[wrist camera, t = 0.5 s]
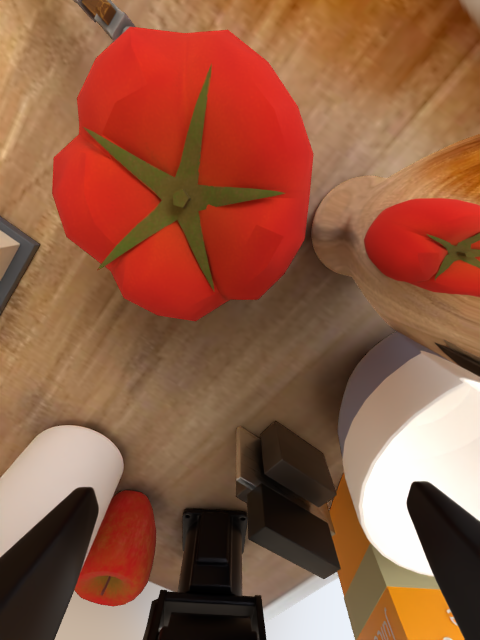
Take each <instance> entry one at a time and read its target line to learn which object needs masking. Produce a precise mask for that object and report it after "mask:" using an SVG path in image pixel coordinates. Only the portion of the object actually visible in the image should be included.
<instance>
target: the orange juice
mask: <svg viewBox="0 0 480 640" xmlns="http://www.w3.org/2000/svg"><path fill="white" fill-rule="evenodd" d="M336 493H337V495H336V496H335V497H334V500H333V503H332V505H331V508H330V511H329V513H330V516H331V520H332V523H333V526H334V530H335V533H336V534H335V535H333V536H332V539H333V542H334V546H335V550H336V553H337V557H338V560H339V564H340V567H341V569H340V570H338V571H337V572H338V576H339V579H340V583H341V587H342V590H343V594H344V600H345V604H346V607H347V611H348V615H349V619H350V622H351V626H352V630H353V633H354V637H355V640H465V639H464V637H463V635H462V633H461V631H460V629H459V627H458V625H457V623H456V621H455V619H454V617H453V615H452V613H451V611H450V608H449V606H448V604H447V602H446V600H445V598H444V596H443V594H442V592H441V590H440V588H439V586H438V584H437V582H436V580H435V577H433V576H428V575H424V574H419V573H416V572H414V571H411V570H408V569H406V568H403V567H401V566H398V565H397V564H395V563H394V562H392V561H391V560H389V559H388V558H386V557H384V556H383V555H382V554H381V553H380V552H379V551H378V550H377V549H376V548H375V547H374V546H373V545H372V544H371V542H370V541H369V540H368V539H367V537H366V535H365V533H364V531H363V529H362V527H361V525H360V523H359V520H358V517H357V514H356V511H355V508H354V505H353V501H352V498H351V495H350V492H349V489H348V486H347V483H346V479H345V474H343V475H342V478H341V481H340V483H339V486H338V489H337V492H336Z"/></svg>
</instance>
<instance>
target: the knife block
mask: <svg viewBox="0 0 480 640" xmlns="http://www.w3.org/2000/svg"><path fill="white" fill-rule="evenodd" d="M261 445H262V456H263V466H264V474H265V475H267V476H268V477H270V478H272V479H273V480H275V481H276V482H278V483H280V484H281V485H283V486H285V487H286V488H288V489H289V490H291V491H293V492H294V493H296V494H298V495H299V496H301V497H302V498H304V499H306V500H307V501H309V502H310V503H312V504H314V505H315V506H317V507H321V506H322V505H324V504H325V503H326V502H328V501H329V500H331V499H332V498H334V497H335V496H336V495H337V493H336V490H335V488H334V485H333V482H332V479H331V476H330V473H329V470H328V467H327V464H326V461H325V458H324V455H323V453H321V452H320V451H318V450H317V449H315V448H314V447H312V446H311V445H310V444H308V443H307V442H305V441H304V440H302V439H301V438H299V437H298V436H297V435H295V434H294V433H292V432H291V431H289V430H288V429H286V428H285V427H284V426H282V425H281V424H279V423H278V422H276V421H275V422H274V423H273V424H272V425H270V426H269V427H268V428H267V429H266V430H265V431H264V432H262V433H261ZM251 491H252V490H251V489H249V488H248V487H246V486H244V485H243V484H241V483H239V482H238V481H236V497H237V498H239V499H240V500H242V501H244V502H246V503H247V494H248V493H249V492H251Z"/></svg>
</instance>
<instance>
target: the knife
mask: <svg viewBox="0 0 480 640" xmlns="http://www.w3.org/2000/svg"><path fill="white" fill-rule="evenodd" d="M236 481H238V482H239V483H241V484H243V485H244V486H246V487H248V488H249V489H251V490H252V491H251V492H249V493H248V494H247V512H248V539H249V540H251V541H253V542H255V543H257V544H258V545H260V546H262V547H264V548H266V549H268V550H270V551H272V552H274V553H275V554H277V555H279V556H281V557H283V558H285V559H287V560H289V561H291V562H293V563H294V564H296V565H298V566H300V567H302V568H304V569H306V570H308V571H310V572H311V573H313V574H315V575H317V576H319V577H321V578H323V579H325V578H327V577H329V576H330V575H332V574H333V573H335V572H337V571H338V570H340V569H341V567H340V564H339V560H338V557H337V553H336V550H335V546H334V542H333V539H332V536H333V535H335V534H336V533H335V530H334V526H333V523H332V520H331V516H330V513H329V509H328V506H327V503H325V504H324V505H322V506H321V507H317V506H315V505H314V504H312V503H310V502H309V501H307V500H306V499H304V498H302V497H301V496H299V495H298V494H296V493H294V492H293V491H291V490H289V489H288V488H286V487H285V486H283V485H281V484H280V483H278V482H276V481H275V480H273V479H272V478H270V477H268V476H267V475H265V474H264V466H263V456H262V445H261V439H259V438H258V437H256V436H255V435H253V434H251V433H250V432H248V431H247V430H245V429H244V428H242V427H241V426H239V427H238V428H237V429H236Z"/></svg>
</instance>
